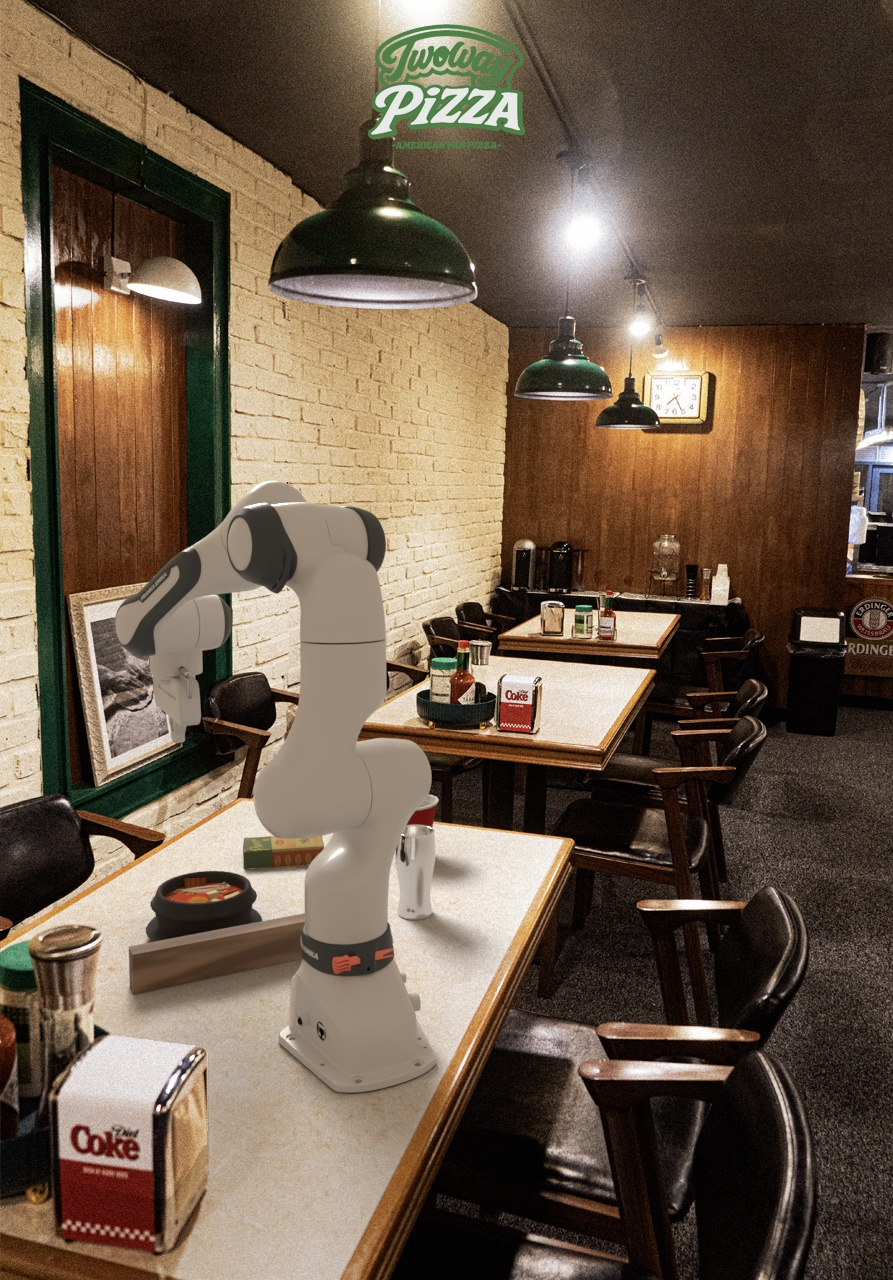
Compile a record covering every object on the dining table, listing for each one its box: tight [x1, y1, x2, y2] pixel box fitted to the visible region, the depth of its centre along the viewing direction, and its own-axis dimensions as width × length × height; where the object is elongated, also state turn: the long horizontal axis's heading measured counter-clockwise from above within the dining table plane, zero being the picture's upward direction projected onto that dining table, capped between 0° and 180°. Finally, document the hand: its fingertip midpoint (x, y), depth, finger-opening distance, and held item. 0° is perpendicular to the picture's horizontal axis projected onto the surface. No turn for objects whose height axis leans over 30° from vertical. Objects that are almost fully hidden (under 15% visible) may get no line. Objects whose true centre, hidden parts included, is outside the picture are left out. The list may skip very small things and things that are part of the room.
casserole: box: [145, 870, 263, 942], centre depth 157 cm, size 25×19×8 cm
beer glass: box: [394, 825, 436, 921], centre depth 167 cm, size 7×7×15 cm
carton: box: [242, 835, 325, 870], centre depth 193 cm, size 8×16×4 cm, turn 102°
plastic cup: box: [407, 794, 440, 828], centre depth 195 cm, size 11×11×12 cm
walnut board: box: [128, 912, 305, 995], centre depth 145 cm, size 3×28×6 cm, turn 118°
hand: (178, 741), depth 169 cm, fingers closed
